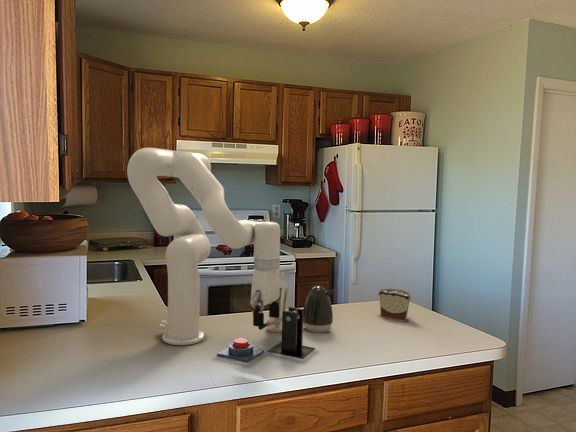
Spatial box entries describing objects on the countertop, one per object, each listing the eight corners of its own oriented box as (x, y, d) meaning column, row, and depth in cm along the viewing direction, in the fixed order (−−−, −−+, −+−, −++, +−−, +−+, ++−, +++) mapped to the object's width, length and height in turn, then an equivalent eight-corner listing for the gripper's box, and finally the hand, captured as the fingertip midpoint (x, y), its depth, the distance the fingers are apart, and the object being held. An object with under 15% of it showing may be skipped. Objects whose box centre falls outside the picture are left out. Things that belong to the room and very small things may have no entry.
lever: (259, 332, 139) (257, 324, 139) (268, 327, 144) (266, 319, 144) (294, 321, 134) (291, 313, 134) (302, 316, 139) (299, 308, 139)
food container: (414, 318, 176) (416, 291, 175) (409, 322, 171) (410, 295, 170) (383, 312, 183) (384, 286, 182) (376, 316, 177) (378, 289, 177)
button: (231, 347, 132) (231, 341, 132) (238, 343, 136) (238, 337, 136) (243, 350, 131) (243, 344, 131) (250, 345, 134) (251, 339, 134)
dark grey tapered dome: (331, 337, 152) (333, 290, 151) (299, 334, 154) (300, 288, 153) (334, 328, 162) (336, 283, 161) (304, 325, 164) (305, 281, 163)
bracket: (267, 354, 136) (268, 310, 135) (281, 345, 144) (282, 303, 143) (302, 362, 131) (304, 316, 130) (315, 352, 140) (316, 309, 138)
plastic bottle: (276, 327, 160) (278, 269, 159) (291, 333, 155) (293, 272, 154) (262, 331, 156) (264, 271, 154) (276, 337, 151) (278, 274, 149)
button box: (216, 359, 132) (216, 346, 131) (234, 349, 140) (234, 337, 139) (248, 366, 127) (248, 353, 127) (264, 355, 135) (264, 343, 135)
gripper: (269, 258, 149) (269, 312, 150) (240, 268, 133) (240, 328, 135) (291, 260, 146) (290, 315, 147) (264, 270, 130) (263, 332, 132)
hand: (266, 321), depth 141 cm, fingers open, 9 cm apart
